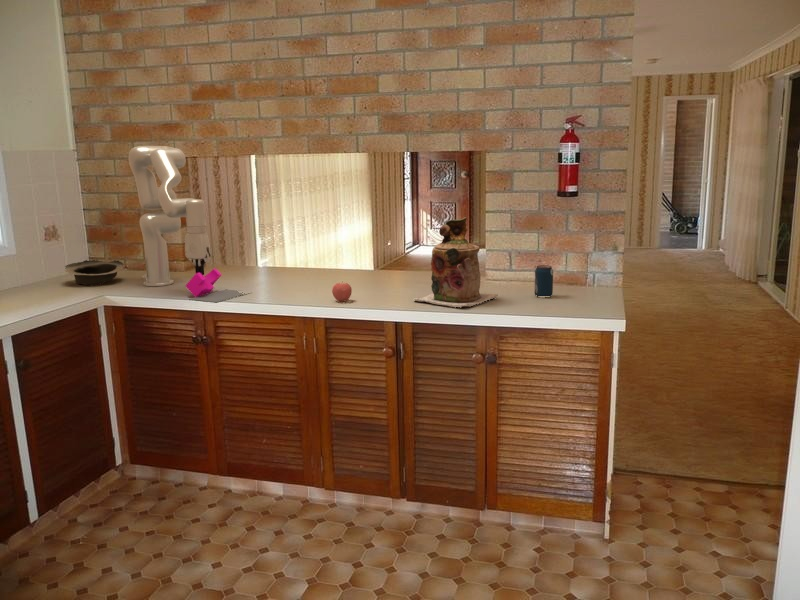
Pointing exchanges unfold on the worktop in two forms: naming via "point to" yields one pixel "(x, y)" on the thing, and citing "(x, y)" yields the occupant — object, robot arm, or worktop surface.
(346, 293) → the apple
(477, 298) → the cookie jar
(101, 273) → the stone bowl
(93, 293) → the worktop surface
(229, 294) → the mat
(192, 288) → the toy block
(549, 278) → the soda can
